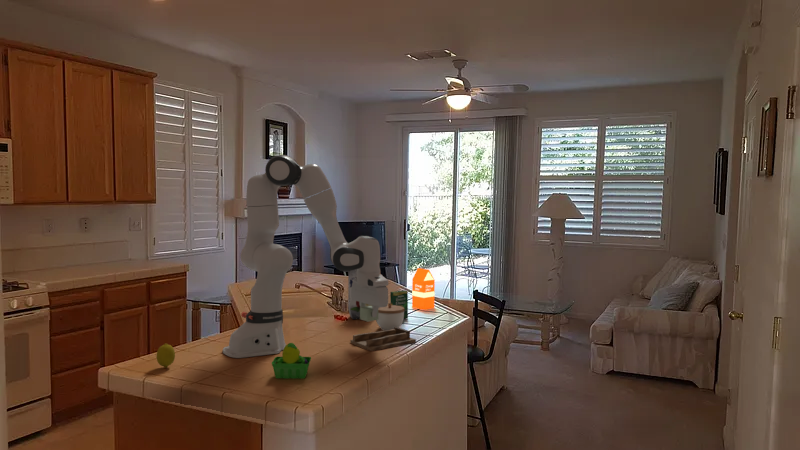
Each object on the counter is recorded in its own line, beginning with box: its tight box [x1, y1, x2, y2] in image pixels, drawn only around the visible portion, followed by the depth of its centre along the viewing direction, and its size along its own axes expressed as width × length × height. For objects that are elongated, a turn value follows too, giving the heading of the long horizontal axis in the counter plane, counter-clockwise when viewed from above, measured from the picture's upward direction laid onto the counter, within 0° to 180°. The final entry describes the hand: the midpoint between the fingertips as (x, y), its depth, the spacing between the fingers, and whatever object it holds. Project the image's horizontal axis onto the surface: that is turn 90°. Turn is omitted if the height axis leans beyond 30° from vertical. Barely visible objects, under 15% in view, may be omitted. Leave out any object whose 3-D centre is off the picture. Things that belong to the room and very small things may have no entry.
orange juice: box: [411, 267, 436, 310], centre depth 280 cm, size 8×9×20 cm
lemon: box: [156, 342, 176, 369], centre depth 177 cm, size 6×6×8 cm
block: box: [359, 306, 378, 322], centre depth 205 cm, size 5×5×4 cm
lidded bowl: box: [375, 302, 405, 331], centre depth 233 cm, size 13×13×11 cm
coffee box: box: [389, 289, 409, 320], centre depth 252 cm, size 8×3×13 cm, turn 118°
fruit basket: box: [271, 342, 312, 380], centre depth 169 cm, size 11×9×11 cm
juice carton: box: [347, 269, 372, 320], centre depth 254 cm, size 9×10×27 cm
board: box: [350, 327, 417, 352], centre depth 210 cm, size 21×14×4 cm, turn 127°
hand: (368, 315), depth 205 cm, fingers closed on block, 5 cm apart
